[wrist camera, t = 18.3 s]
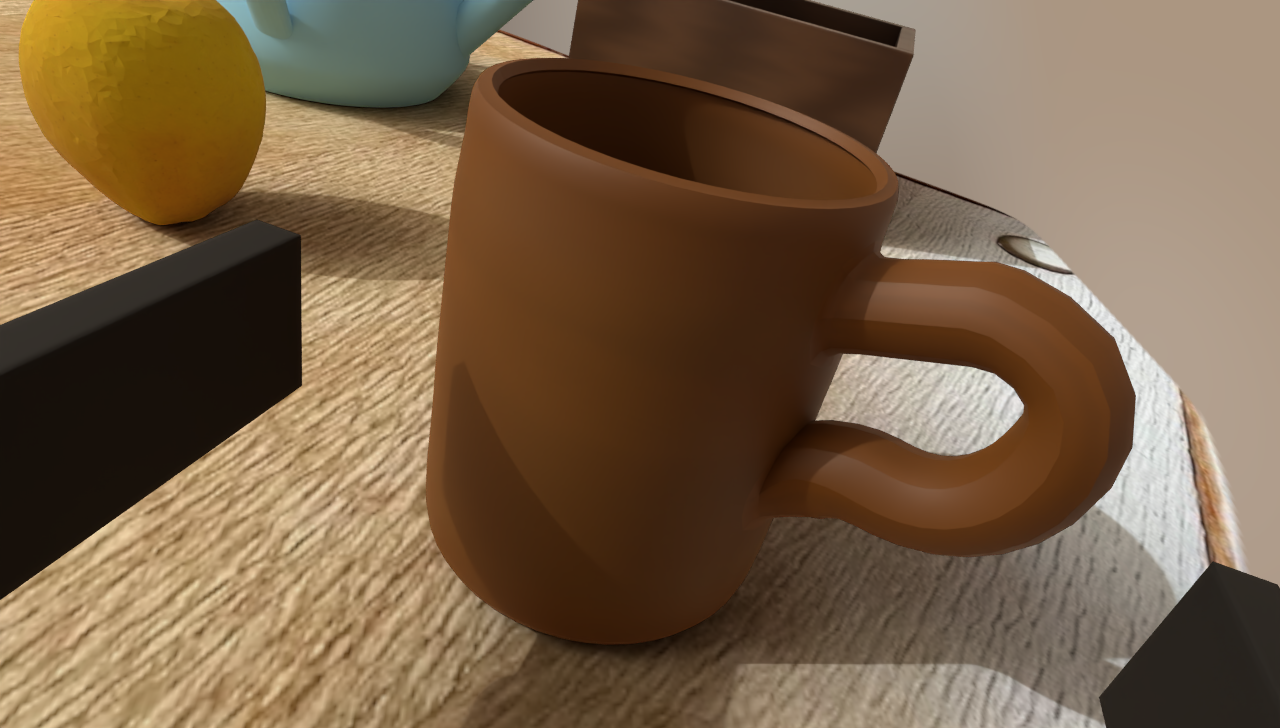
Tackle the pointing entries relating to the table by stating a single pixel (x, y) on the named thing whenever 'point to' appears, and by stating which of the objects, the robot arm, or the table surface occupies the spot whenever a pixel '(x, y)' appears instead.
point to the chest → (761, 53)
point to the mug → (715, 355)
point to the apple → (146, 99)
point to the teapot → (367, 46)
